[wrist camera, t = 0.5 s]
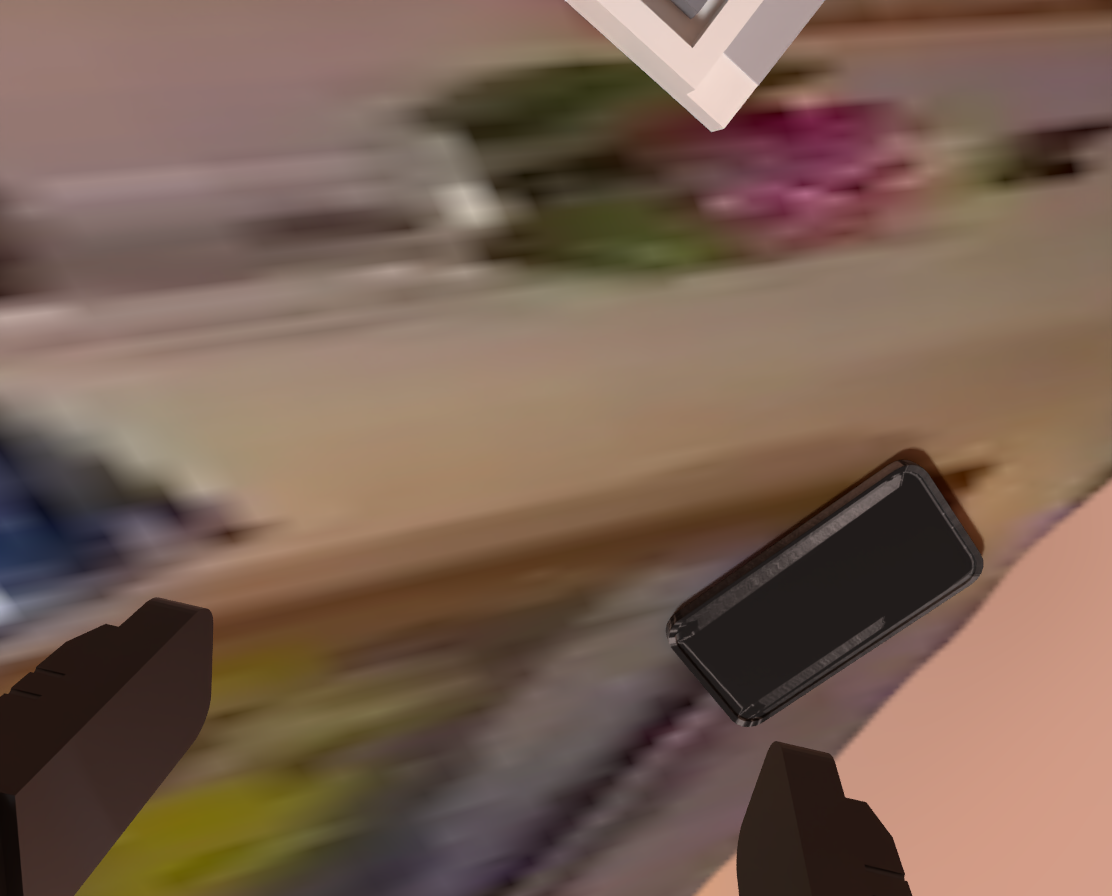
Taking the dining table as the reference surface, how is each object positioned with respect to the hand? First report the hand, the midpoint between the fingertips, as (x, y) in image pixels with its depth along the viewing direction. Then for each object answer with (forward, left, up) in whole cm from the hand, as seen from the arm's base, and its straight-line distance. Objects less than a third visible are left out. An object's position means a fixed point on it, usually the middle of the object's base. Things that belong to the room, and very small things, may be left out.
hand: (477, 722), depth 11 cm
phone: (+21, 0, -27) cm, 34 cm away
